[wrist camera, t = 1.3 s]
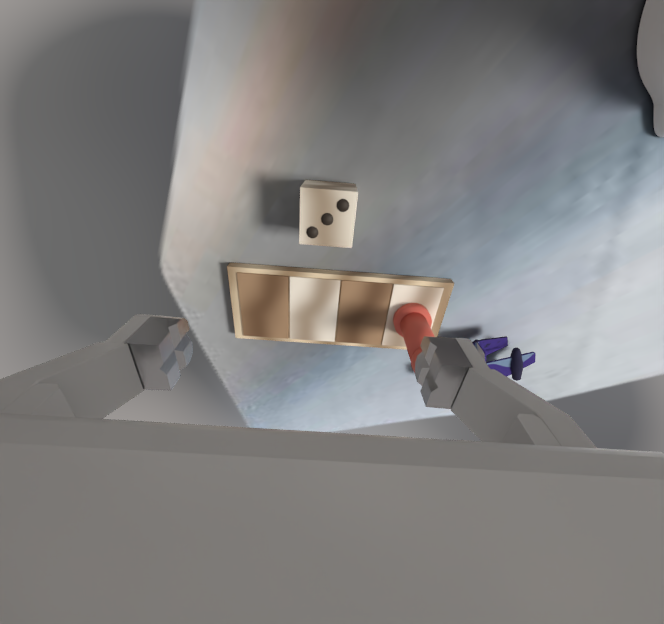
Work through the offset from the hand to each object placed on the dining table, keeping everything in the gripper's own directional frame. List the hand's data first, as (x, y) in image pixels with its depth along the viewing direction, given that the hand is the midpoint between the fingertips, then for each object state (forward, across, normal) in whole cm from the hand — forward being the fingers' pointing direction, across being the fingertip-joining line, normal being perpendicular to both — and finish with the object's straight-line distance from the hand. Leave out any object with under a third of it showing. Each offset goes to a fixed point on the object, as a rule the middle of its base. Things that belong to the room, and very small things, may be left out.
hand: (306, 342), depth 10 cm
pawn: (+22, -12, +12) cm, 28 cm away
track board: (+24, -3, +12) cm, 27 cm away
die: (+24, 0, 0) cm, 24 cm away
